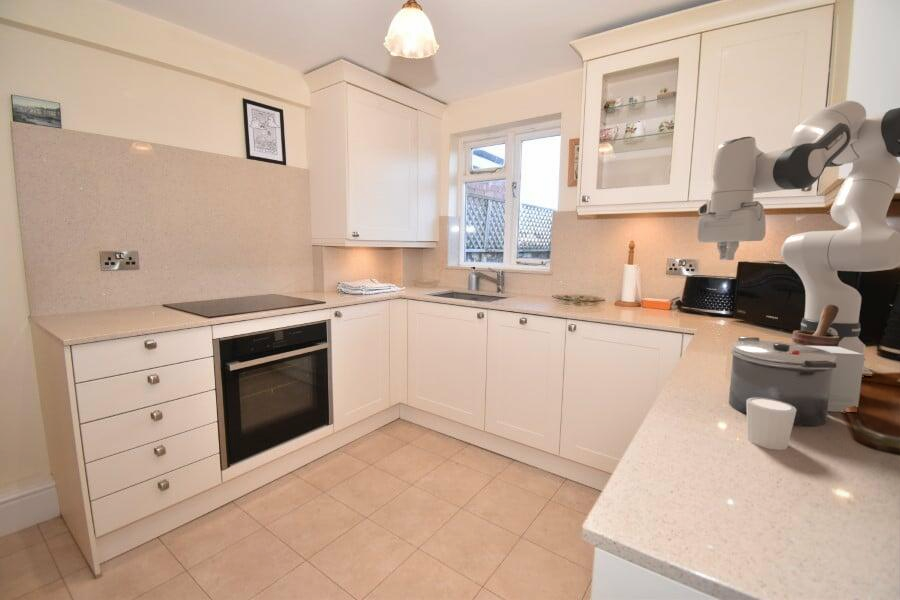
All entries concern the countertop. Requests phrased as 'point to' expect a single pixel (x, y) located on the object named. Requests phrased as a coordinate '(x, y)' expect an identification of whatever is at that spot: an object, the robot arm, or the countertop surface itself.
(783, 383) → the cooker pot
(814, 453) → the countertop surface
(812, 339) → the mortar and pestle
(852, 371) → the supplement box
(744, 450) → the countertop surface
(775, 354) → the cooker lid
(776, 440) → the white tapered cup
